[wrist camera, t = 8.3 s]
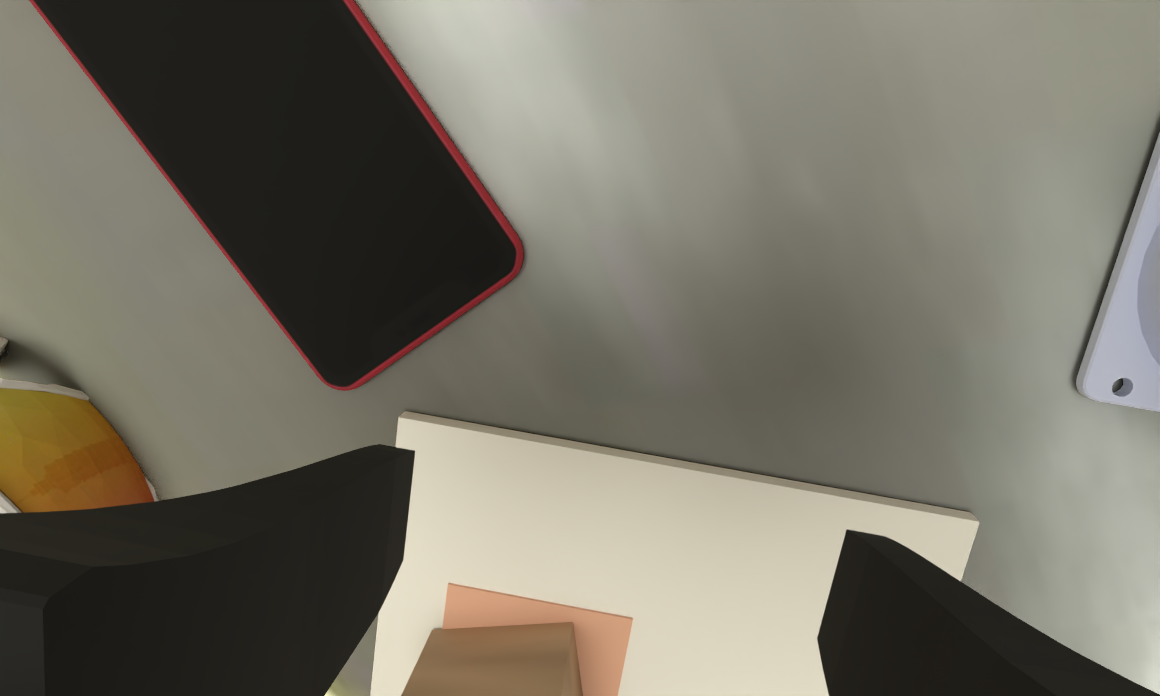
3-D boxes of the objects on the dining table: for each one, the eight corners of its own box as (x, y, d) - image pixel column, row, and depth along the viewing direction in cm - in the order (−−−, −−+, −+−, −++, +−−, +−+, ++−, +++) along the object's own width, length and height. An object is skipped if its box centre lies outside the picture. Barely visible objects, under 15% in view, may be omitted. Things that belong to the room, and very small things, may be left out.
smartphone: (187, -235, 18) (534, 263, 20) (208, -215, 19) (539, 260, 21) (-7, -43, 19) (335, 403, 21) (22, -33, 20) (348, 394, 22)
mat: (970, 512, 21) (981, 523, 20) (845, 908, 24) (851, 929, 24) (405, 410, 21) (397, 418, 21) (363, 809, 25) (356, 826, 24)
